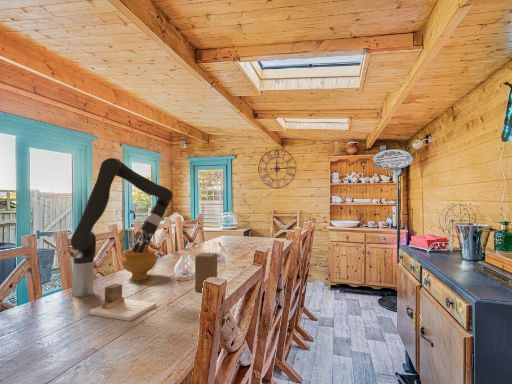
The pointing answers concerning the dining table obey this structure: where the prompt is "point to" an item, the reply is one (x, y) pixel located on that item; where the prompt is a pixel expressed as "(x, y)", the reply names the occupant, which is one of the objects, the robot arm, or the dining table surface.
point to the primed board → (124, 310)
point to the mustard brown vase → (139, 261)
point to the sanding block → (113, 296)
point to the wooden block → (204, 268)
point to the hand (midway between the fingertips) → (136, 252)
